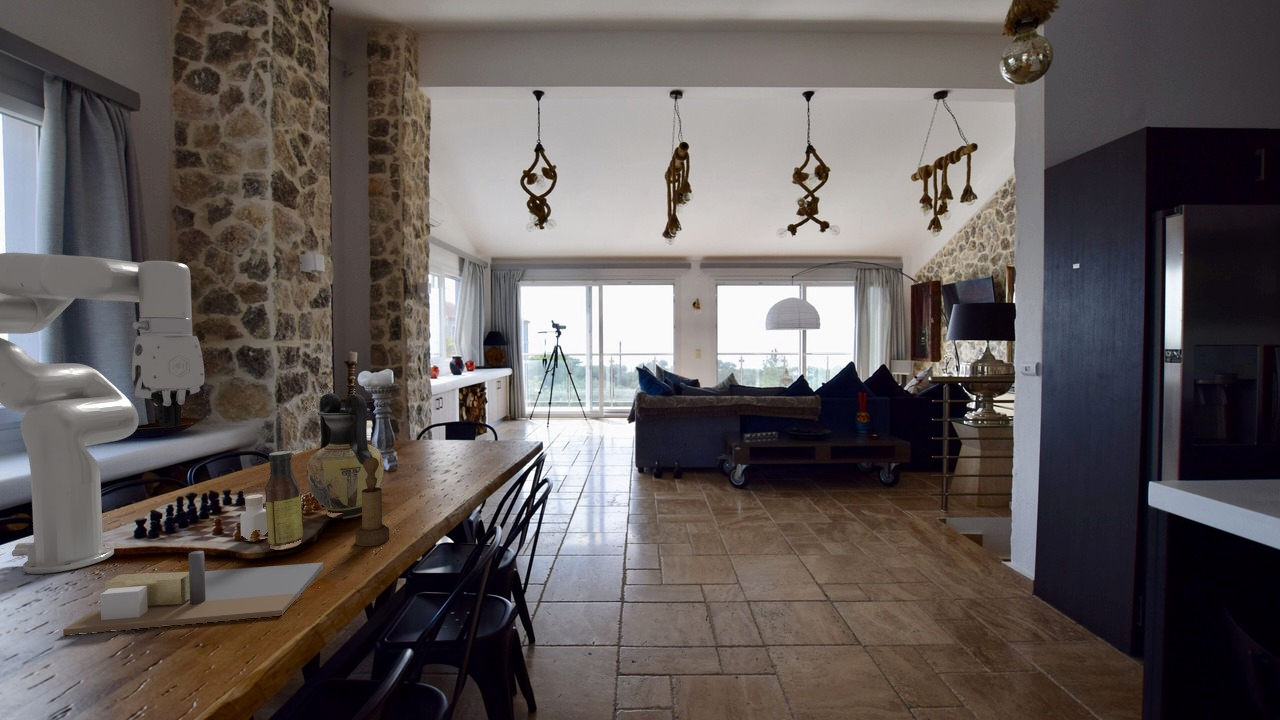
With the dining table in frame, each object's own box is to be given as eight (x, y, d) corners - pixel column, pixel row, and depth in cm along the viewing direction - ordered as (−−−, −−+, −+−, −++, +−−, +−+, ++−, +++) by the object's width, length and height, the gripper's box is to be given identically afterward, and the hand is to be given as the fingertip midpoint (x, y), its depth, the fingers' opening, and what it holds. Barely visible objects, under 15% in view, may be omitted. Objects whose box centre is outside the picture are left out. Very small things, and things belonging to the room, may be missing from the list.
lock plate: (63, 636, 84) (60, 575, 84) (147, 581, 104) (145, 531, 103) (282, 616, 90) (280, 559, 90) (323, 567, 109) (322, 520, 109)
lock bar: (194, 595, 95) (193, 571, 94) (181, 603, 92) (180, 579, 91) (121, 598, 93) (120, 574, 93) (106, 607, 90) (105, 582, 90)
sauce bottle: (309, 542, 123) (307, 449, 122) (289, 553, 117) (286, 455, 116) (281, 541, 124) (278, 449, 123) (259, 552, 118) (256, 455, 117)
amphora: (289, 520, 138) (286, 395, 136) (345, 501, 154) (342, 389, 152) (349, 527, 132) (346, 397, 131) (400, 506, 149) (398, 390, 147)
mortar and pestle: (367, 548, 119) (365, 462, 118) (349, 542, 123) (347, 458, 122) (395, 539, 125) (394, 456, 124) (377, 533, 128) (375, 453, 128)
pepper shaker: (239, 541, 123) (238, 498, 123) (257, 535, 127) (256, 493, 127) (252, 544, 122) (251, 499, 122) (270, 538, 126) (269, 494, 125)
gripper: (136, 327, 99) (140, 433, 100) (221, 328, 114) (223, 421, 114) (105, 328, 101) (109, 431, 102) (192, 329, 116) (195, 420, 116)
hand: (170, 426), depth 108 cm, fingers closed
